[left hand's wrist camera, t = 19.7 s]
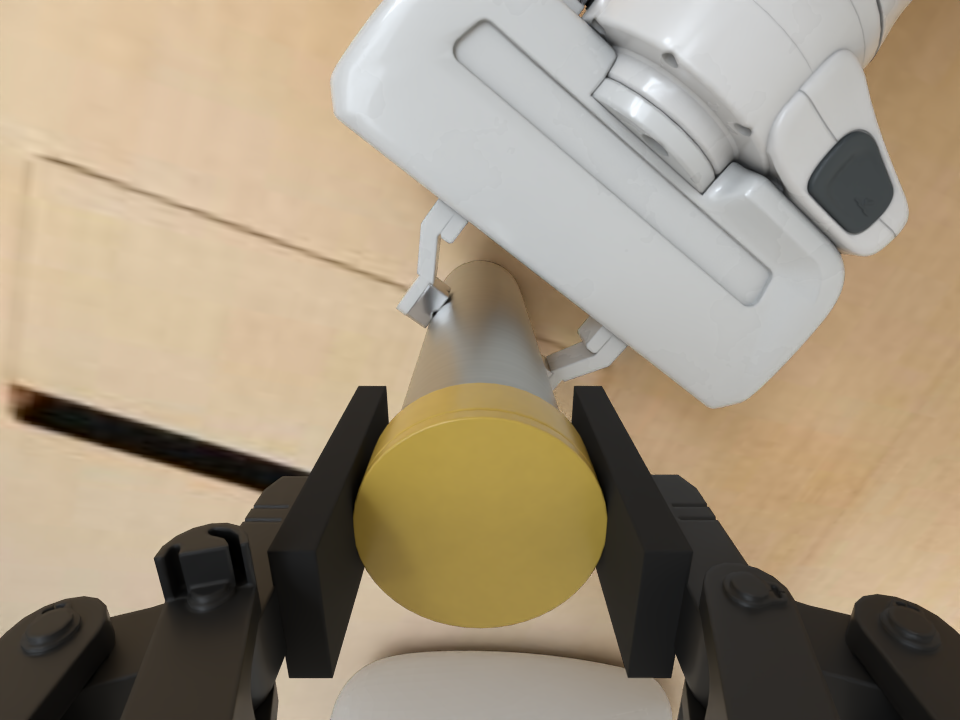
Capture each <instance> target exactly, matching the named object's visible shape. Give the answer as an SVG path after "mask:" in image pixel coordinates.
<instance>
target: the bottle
mask: <svg viewBox="0 0 960 720" xmlns="http://www.w3.org/2000/svg"><path fill="white" fill-rule="evenodd" d="M444 283H445V284H446V285H448V286H449V287H450V288H451V291H450V293H449V294H450V295H449V298H448V299H447V301H446V302H445V303H444V305H443V306H442V307H441V308H440V309H439V310H438V311H435V312H434V316H433V318H432V320H431V322H430V323H429V326H428V330H427V333H426V336H425V339H424V342H423V345H422V348H421V351H420V354H419V357H418V360H417V363H416V367H415V370H414V373H413V376H412V379H411V382H410V385H409V388H408V391H407V394H406V397H405V400H404V404H403V407H402V410H403V409H404V408H405V407H407V406H408V405H409V404H411V403H412V402H414V401H416V400H417V399H419V398H420V397H423V396H425V395H427V394H429V393H431V392H433V391H436V390H439V389H442V388H446V387H449V386H454V385H459V384H466V383H495V384H501V385H506V386H511V387H515V388H518V389H521V390H524V391H527V392H529V393H531V394H533V395H536V396H538V397H540V398H541V399H543V400H545V401H546V402H548V403H549V404H551V405H552V406H554V407H555V408H556V409H557V410H559V409H558V406H557V403H556V400H555V396H554V393H553V390H552V387H551V384H550V381H549V378H548V375H547V372H546V369H545V366H544V363H543V359H542V356H541V353H540V350H539V347H538V344H537V341H536V338H535V335H534V332H533V329H532V326H531V323H530V319H529V316H528V313H527V310H526V307H525V304H524V301H523V298H522V295H521V292H520V289H519V286H518V284H517V282H516V280H515V279H514V277H513V276H512V275H511V274H510V273H509V272H508V271H507V270H506V269H504V268H503V267H501V266H499V265H497V264H495V263H492V262H487V261H473V262H468V263H465V264H463V265H461V266H459V267H457V268H456V269H454V270H453V271H452V272H451V273H450V274H449V275H448V276H447V278H446V279H445V281H444ZM402 410H401V411H402Z"/></svg>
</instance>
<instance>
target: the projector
mask: <svg viewBox="0 0 960 720" xmlns="http://www.w3.org/2000/svg"><path fill="white" fill-rule="evenodd" d="M330 720H673V719H672V710H671V706H670V702H669V700H668V697H667V695H666V693H665V691H664V690H663V688H662V687H661V685H660V684H659V683H658V682H657V681H656V680H655V679H654V678H628V677H627V674H626V670H625V668H622V667H617V666H612V665H608V664H603V663H597V662H591V661H586V660H580V659H573V658H566V657H558V656H551V655H540V654H530V653H516V652H499V651H436V652H420V653H409V654H402V655H395V656H391V657H387V658H383V659H380V660H377V661H375V662H372V663H370V664H368V665H367V666H365V667H363V668H362V669H361V670H359V671H358V672H357V673H355V674H354V675H353V676H352V677H351V678H350V680H349V681H348V682H347V683H346V685H345V686H344V687H343V689H342V690H341V692H340V694H339V696H338V698H337V700H336V703H335V705H334V708H333V711H332V715H331V719H330Z"/></svg>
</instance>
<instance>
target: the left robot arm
mask: <svg viewBox="0 0 960 720" xmlns="http://www.w3.org/2000/svg"><path fill="white" fill-rule="evenodd" d="M388 424H389V420H388V405H387V390H386V386H358V388H357V390H356V392H355V394H354V395H353V397H352V399H351V401H350V403H349V404H348V406H347V408H346V410H345V412H344V413H343V415H342V417H341V419H340V421H339V422H338V424H337V426H336V428H335V430H334V431H333V433H332V435H331V437H330V439H329V440H328V442H327V444H326V446H325V448H324V449H323V451H322V453H321V455H320V457H319V459H318V460H317V462H316V464H315V466H314V468H313V469H312V471H311V473H310V475H309V476H282V477H281V478H280V479H278V480H277V481H276V482H274V483H273V484H272V485H270V486H269V487H267V488H266V489H265V490H264V491H263V493H262V494H261V496H260V497H259V499H258V500H257V502H256V503H255V505H254V508H253V509H251V510H250V512H249V513H248V515H247V516H246V518H245V522H242V524H241V525H240V526H237V525H234V524H230V523H212V524H207V525H204V526H200V527H196V528H193V529H190V530H188V531H186V532H184V533H182V534H180V535H178V536H176V537H174V538H173V539H172V540H170V541H169V542H168V543H166V544H165V545H164V546H162V548H161V549H160V551H159V552H158V553H157V555H156V556H155V557H154V561H155V565H156V568H157V572H158V576H159V579H160V583H161V587H162V591H163V594H164V598H165V603H164V604H161V605H158V606H155V607H151V608H148V609H143V610H139V611H135V612H131V613H126V614H122V615H118V616H114V617H110V616H109V613H108V610H107V606H106V605H105V604H104V603H103V602H102V601H101V600H99V599H98V598H92V597H86V596H82V597H76V598H69V599H64V600H61V601H58V602H56V603H53V604H50V605H47V606H44V607H43V608H41V609H39V610H37V611H35V612H34V613H32V614H30V615H28V616H27V617H25V618H23V619H22V620H21V621H20V622H18V623H17V624H16V625H15V626H13V627H12V628H11V629H10V630H8V631H7V632H6V633H5V634H4V635H3V636H2V637H1V638H0V720H277V710H278V694H277V687H276V682H275V680H276V677H277V675H278V672H279V670H280V667H281V665H282V662H283V660H284V657H286V663H287V669H288V674H289V678H333V675H334V671H335V668H336V664H337V661H338V657H339V654H340V650H341V647H342V644H343V640H344V637H345V633H346V630H347V626H348V623H349V619H350V616H351V612H352V609H353V605H354V602H355V598H356V595H357V592H358V588H359V585H360V581H361V578H362V574H363V571H364V565H363V563H362V561H361V559H360V556H359V553H358V551H357V548H356V544H355V535H354V525H353V511H354V503H355V500H356V497H357V493H358V490H359V487H360V485H361V482H362V479H363V477H364V474H365V471H366V469H367V466H368V463H369V461H370V458H371V455H372V453H373V450H374V448H375V446H376V443H377V441H378V439H379V437H380V435H381V434H382V432H383V431H384V429H385V428H386V426H387V425H388ZM572 425H573V426H574V427H575V429H576V430H577V432H578V433H579V435H580V437H581V439H582V441H583V443H584V445H585V447H586V449H587V452H588V455H589V457H590V460H591V463H592V465H593V468H594V471H595V473H596V476H597V479H598V481H599V484H600V486H601V489H602V492H603V496H604V499H605V502H606V508H607V529H606V538H605V546H604V549H603V552H602V554H601V557H600V560H599V561H598V563H597V565H596V570H597V573H598V577H599V580H600V583H601V587H602V590H603V594H604V597H605V601H606V604H607V608H608V611H609V615H610V618H611V622H612V625H613V629H614V632H615V635H616V639H617V642H618V646H619V649H620V653H621V656H622V660H623V663H624V667H625V670H626V674H627V677H628V678H671V676H672V671H673V665H674V659H675V654H676V656H677V659H678V661H679V664H680V666H681V669H682V671H683V674H684V676H685V682H684V687H683V693H682V698H681V703H680V708H679V714H678V719H677V720H960V634H959V633H958V632H957V631H956V630H954V629H953V628H952V627H951V626H949V625H948V624H947V623H946V622H945V621H943V620H942V619H941V618H940V617H938V616H937V615H935V614H933V613H932V612H930V611H928V610H926V609H924V608H922V607H921V606H919V605H917V604H914V603H912V602H909V601H906V600H903V599H900V598H898V597H893V596H886V595H880V594H875V595H868V596H863V597H862V598H860V599H859V600H858V601H857V602H856V603H855V605H854V608H853V611H852V614H851V615H847V614H843V613H839V612H835V611H830V610H826V609H822V608H818V607H813V606H809V605H806V604H803V603H800V602H797V601H795V600H794V599H793V597H792V595H791V594H790V592H789V591H788V589H787V588H786V587H785V586H784V585H783V584H781V583H780V582H779V581H778V580H777V579H776V578H774V577H773V576H771V575H769V574H767V573H765V572H764V571H762V570H760V569H758V568H755V567H751V566H748V564H747V563H746V561H745V560H744V558H743V557H742V555H741V554H740V552H739V551H738V549H737V548H736V546H735V545H734V543H733V542H732V540H731V539H730V538H729V536H728V535H727V533H726V532H725V530H724V529H723V527H722V526H721V524H720V523H719V521H718V520H716V517H715V515H714V514H713V512H712V511H711V509H710V508H709V507H707V503H706V502H705V500H704V499H703V497H702V496H701V494H700V493H699V491H698V490H697V488H695V487H694V486H693V485H691V484H690V483H689V482H687V481H686V480H684V479H683V478H682V477H680V476H679V475H651V474H650V472H649V471H648V469H647V467H646V465H645V463H644V461H643V460H642V458H641V456H640V454H639V452H638V451H637V449H636V447H635V445H634V443H633V442H632V440H631V438H630V436H629V434H628V433H627V431H626V429H625V427H624V425H623V424H622V422H621V420H620V418H619V416H618V415H617V413H616V411H615V409H614V407H613V406H612V404H611V402H610V400H609V398H608V397H607V395H606V393H605V391H604V389H603V388H602V386H574V395H573V410H572Z"/></svg>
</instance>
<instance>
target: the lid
mask: <svg viewBox="0 0 960 720" xmlns="http://www.w3.org/2000/svg"><path fill="white" fill-rule="evenodd" d="M353 525H354V535H355V544H356V548H357V551H358V553H359V556H360V559H361V561H362V563H363V565H364V567H365V568H366V570H367V572H368V573H369V575H370V576H371V577H372V579H373V580H374V582H375V583H376V584H377V585H378V586H379V587H380V588H381V589H382V590H383V591H384V592H385V593H386V594H387V595H388V596H389V597H391V598H392V599H393V600H394V601H395V602H397V603H398V604H400V605H402V606H403V607H405V608H406V609H408V610H410V611H412V612H414V613H416V614H418V615H420V616H422V617H425V618H427V619H430V620H433V621H435V622H439V623H443V624H447V625H452V626H459V627H466V628H495V627H502V626H509V625H513V624H517V623H521V622H525V621H528V620H530V619H533V618H536V617H539V616H541V615H543V614H545V613H547V612H549V611H551V610H553V609H554V608H556V607H557V606H559V605H560V604H562V603H563V602H565V601H566V600H567V599H569V598H570V597H571V596H572V595H573V594H575V593H576V592H577V591H578V590H579V589H580V588H581V586H582V585H583V584H584V583H585V582H586V581H587V579H588V578H589V577H590V575H591V574H592V572H593V571H594V569H595V567H596V565H597V563H598V561H599V560H600V557H601V554H602V552H603V549H604V546H605V538H606V529H607V508H606V502H605V499H604V496H603V492H602V489H601V486H600V484H599V481H598V479H597V476H596V473H595V471H594V468H593V465H592V463H591V460H590V457H589V455H588V452H587V449H586V447H585V445H584V443H583V441H582V439H581V437H580V435H579V433H578V432H577V430H576V429H575V427H574V426H573V425H572V423H571V422H570V421H569V420H568V419H567V418H566V417H565V416H564V415H563V414H562V413H561V412H560V411H559V410H557V409H556V408H555V407H554V406H552V405H551V404H549V403H548V402H546V401H545V400H543V399H541V398H540V397H538V396H536V395H533V394H531V393H529V392H527V391H524V390H521V389H518V388H515V387H511V386H506V385H501V384H495V383H466V384H459V385H454V386H449V387H446V388H442V389H439V390H436V391H433V392H431V393H429V394H427V395H425V396H423V397H420V398H419V399H417V400H416V401H414V402H412V403H411V404H409V405H408V406H407V407H405V408H404V409H403V410H402V411H401V412H399V413H398V414H397V415H396V416H395V417H394V418H393V419H392V421H391V422H390V423H389V424H388V425H387V426H386V428H385V429H384V431H383V432H382V434H381V435H380V437H379V439H378V441H377V443H376V446H375V448H374V450H373V453H372V455H371V458H370V461H369V463H368V466H367V469H366V471H365V474H364V477H363V479H362V482H361V485H360V487H359V490H358V493H357V497H356V500H355V503H354V511H353Z"/></svg>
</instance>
